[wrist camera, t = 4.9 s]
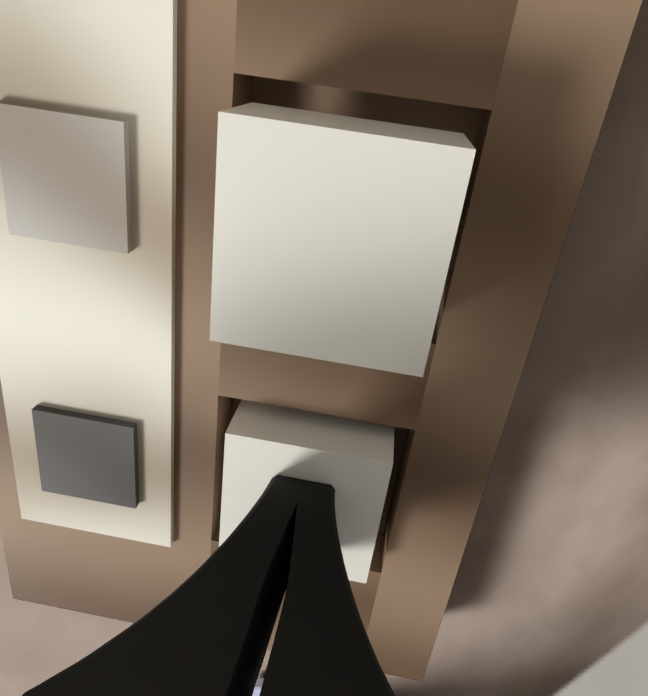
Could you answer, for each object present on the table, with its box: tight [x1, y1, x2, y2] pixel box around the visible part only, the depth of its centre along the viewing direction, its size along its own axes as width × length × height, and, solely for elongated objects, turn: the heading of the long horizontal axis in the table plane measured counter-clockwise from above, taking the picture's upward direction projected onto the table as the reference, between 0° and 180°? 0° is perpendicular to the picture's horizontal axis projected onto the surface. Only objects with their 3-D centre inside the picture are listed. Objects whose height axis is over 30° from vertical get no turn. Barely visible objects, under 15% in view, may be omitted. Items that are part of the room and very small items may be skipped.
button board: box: [0, 0, 642, 681], centre depth 12 cm, size 25×12×2 cm, turn 173°
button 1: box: [219, 400, 394, 584], centre depth 14 cm, size 4×4×2 cm
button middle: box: [209, 102, 476, 377], centre depth 10 cm, size 4×4×2 cm
